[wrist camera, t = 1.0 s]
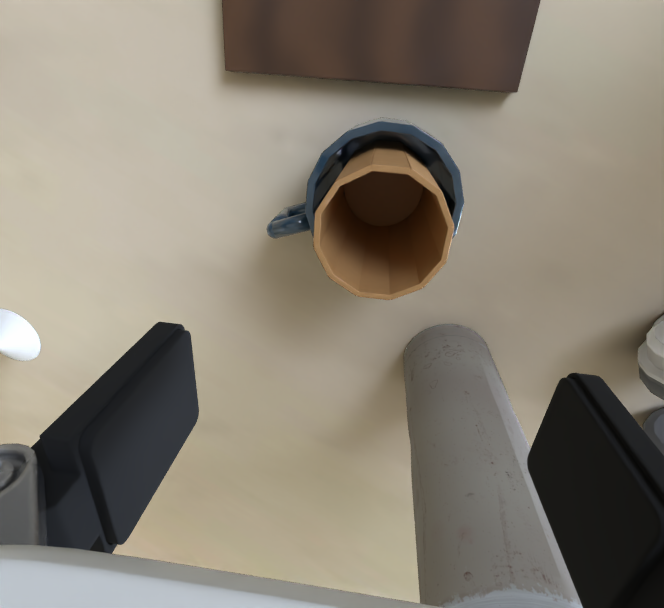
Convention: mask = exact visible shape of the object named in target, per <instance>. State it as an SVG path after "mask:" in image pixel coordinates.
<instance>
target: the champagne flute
mask: <svg viewBox="0 0 664 608" xmlns="http://www.w3.org/2000/svg"><path fill="white" fill-rule="evenodd" d="M40 348H41V344H40V340H39V337H38V335H37V333H36V331H35V330H34V328H33V327H32V326H31V325H30V324H29V323H28V322H27V321H26V320H25V319H24V318H22V317H21V316H19V315H18V314H16V313H14V312H11V311H9V310H5V309H0V353H2V354H3V355H5V356H7V357H9V358H11V359H15V360H19V361H29V360H32V359H34V358H36V357H37V356H38V354H39V352H40Z"/></svg>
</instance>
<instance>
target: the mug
mask: <svg viewBox="0 0 664 608" xmlns="http://www.w3.org/2000/svg"><path fill="white" fill-rule="evenodd" d="M377 140H381V141H392V142H401V143H403V144H404V145H405V146H407V147H408V148H409V149H410V150H412V151H413V152H414V153H416V154H417V155H418V156H419V157H420V158H421V160H422V161H423V163H424V164H425V166H426V167H427V169H428V171H429V172H430V174H431V175H432V177H433V178H434V180H435V182H436V183H437V185H438V186H439V188H440V189H441V191H442V193H443V195H444V198H445V201H446V204H447V207H448V209H449V212H450V215H451V218H452V220H453V223H454V232H453V236H452V239H453V237H454V236H455V235H456V232H457V229H458V225H459V221H460V217H461V214H462V210H463V206H464V198H463V190H462V183H461V176H460V172H459V169H458V168H457V166H456V164H455V163H454V161H453V160H452V158H451V156H450V155H449V153H448V152H447V150H446V149H445V147H444V145H443V144H442V143H441V142H439V141H438V140H437V139H435V138H434V137H432V136H431V135H429V134H428V133H426V132H425V131H423V130H422V129H420V128H419V127H417V126H415V125H414V124H412V123H411V122H409V121H406V120H398V119H390V118H383V117H382V118H378V119H374V120H371V121H368V122H365V123H361V124H358V125H356V126H354V127H353V128H351V129H350V130H348V131H347V132H346V133H345V134H344V135H342V136H341V137H340V138H339V139H338V140H336V141H335V142H334V143H333V144H332V145H331V146H329V147H328V148H327V149H326V150H325V151H323V153H322V154H321V156H320V158H319V160H318V162H317V164H316V166H315V168H314V170H313V172H312V174H311V176H310V178H309V180H308V184H307V196H306V202H305V203H301V204H297V205H294V206H290V207H286V208H284V209H283V210H282V211H281V212H280V213H279V214H278V215H277V216H276V217H275V218H274V219H273V220H272V221H271V222H270V223H269V224H268V226H267V233H268V235H269V236H270V237H271V238H275V239H276V238H281V237H285V236H289V235H293V234H297V233H301V232H305V231H309V230H311V232H312V235H313V238H314V221H315V212H316V210H317V208H318V207H319V205H320V204H321V202H322V201H323V199H324V198H325V196H326V195H327V193H328V192H329V190H330V188H331V187H332V185H333V184H334V182H335V181H336V179H337V178H338V176H339V175H340V173H341V172H342V170H343V169H344V167H345V166H346V164H347V163H348V161H349V160H350V158H351V157H352V155H353V154H354V152H355V151H356V150H358V149H360V148H362V147H364V146H366V145H368V144H370V143H372V142H374V141H377ZM344 195H345V192H344ZM420 201H421V199H420ZM418 204H419V203H418ZM351 211H352V210H351ZM352 213H353V212H352ZM407 218H408V217H407Z"/></svg>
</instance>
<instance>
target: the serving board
mask: <svg viewBox="0 0 664 608" xmlns="http://www.w3.org/2000/svg"><path fill="white" fill-rule="evenodd" d="M539 4H540V0H222V7H223V29H224V50H225V70H226V71H231V72H243V73H256V74H269V75H283V76H296V77H309V78H322V79H336V80H349V81H362V82H375V83H389V84H402V85H415V86H428V87H441V88H455V89H468V90H481V91H494V92H508V93H515V92H517V91H518V87H519V83H520V79H521V75H522V71H523V67H524V63H525V59H526V55H527V51H528V48H529V44H530V40H531V36H532V32H533V28H534V24H535V20H536V16H537V12H538V8H539Z"/></svg>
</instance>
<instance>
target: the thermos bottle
mask: <svg viewBox="0 0 664 608" xmlns="http://www.w3.org/2000/svg"><path fill="white" fill-rule="evenodd" d="M404 376H405V388H406V404H407V419H408V430H409V437H410V444H411V473H412V491H413V505H414V520H415V534H416V549H417V563H418V578H419V592H420V604H425V605H431V606H437V607H443V608H583V607H582V604H581V602H580V599H579V597H578V594H577V592H576V589H575V587H574V584H573V582H572V579H571V577H570V574H569V572H568V569H567V567H566V564H565V562H564V559H563V557H562V554H561V552H560V549H559V547H558V544H557V542H556V539H555V537H554V534H553V531H552V529H551V526H550V524H549V521H548V519H547V516H546V514H545V511H544V509H543V506H542V504H541V501H540V499H539V496H538V494H537V491H536V489H535V486H534V484H533V481H532V479H531V476H530V474H529V471H528V467H527V458H528V454H529V452H530V446H529V444H528V441H527V439H526V437H525V434H524V432H523V430H522V427H521V425H520V423H519V421H518V419H517V417H516V414H515V412H514V410H513V408H512V405H511V402H510V399H509V397H508V394H507V392H506V389H505V387H504V384H503V382H502V379H501V377H500V375H499V372H498V370H497V368H496V365H495V363H494V360H493V358H492V356H491V353H490V351H489V348H488V346H487V344H486V342H485V341H484V340H483V338H482V337H481V336H480V335H478V334H477V333H476V332H474V331H473V330H471V329H469V328H466V327H463V326H460V325H453V324H443V325H437V326H433V327H431V328H428V329H426V330H424V331H422V332H420V333H419V334H418V335H417V336H415V337H414V338H413V339H412V341H411V342H410V343H409V344H408V346H407V348H406V350H405V354H404Z"/></svg>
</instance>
